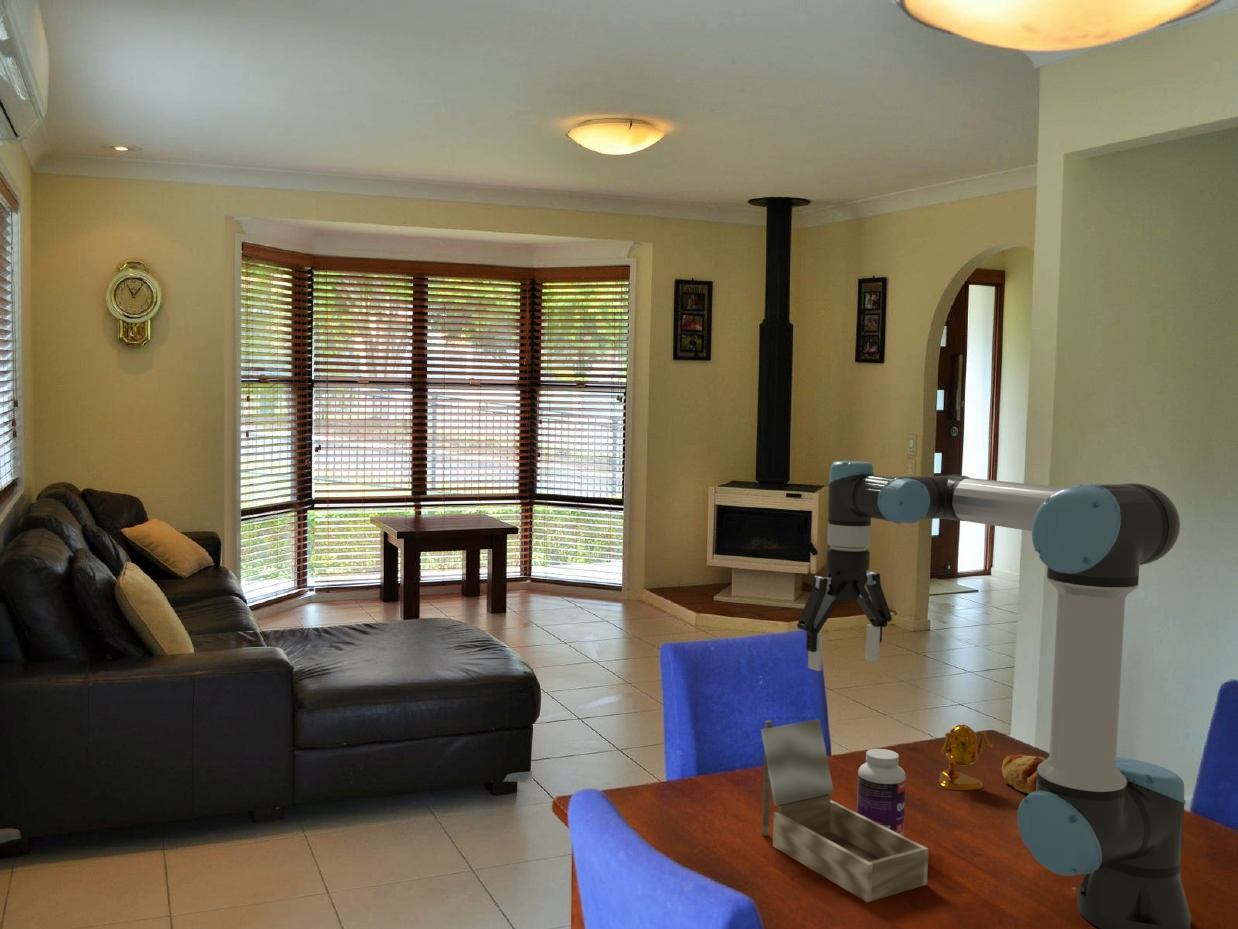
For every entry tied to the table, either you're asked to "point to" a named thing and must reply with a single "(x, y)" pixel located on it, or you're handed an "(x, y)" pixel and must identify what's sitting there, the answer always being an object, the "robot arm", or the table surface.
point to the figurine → (961, 758)
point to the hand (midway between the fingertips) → (843, 665)
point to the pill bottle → (882, 789)
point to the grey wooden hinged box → (830, 820)
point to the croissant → (1021, 772)
